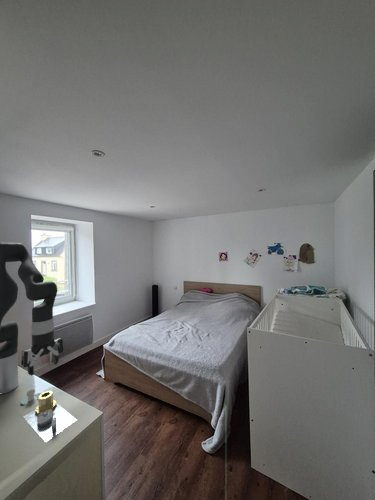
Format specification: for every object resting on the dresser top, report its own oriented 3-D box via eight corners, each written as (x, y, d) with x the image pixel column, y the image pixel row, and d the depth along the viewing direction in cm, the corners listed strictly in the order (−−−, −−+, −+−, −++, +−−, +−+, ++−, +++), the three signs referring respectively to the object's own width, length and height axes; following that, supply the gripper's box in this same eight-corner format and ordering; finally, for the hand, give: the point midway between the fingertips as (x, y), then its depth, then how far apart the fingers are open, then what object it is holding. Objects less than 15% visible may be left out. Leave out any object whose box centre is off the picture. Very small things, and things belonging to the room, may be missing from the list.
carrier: (22, 419, 82) (22, 407, 82) (52, 402, 91) (52, 390, 91) (45, 445, 70) (45, 431, 70) (77, 422, 80) (76, 409, 80)
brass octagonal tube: (33, 411, 85) (32, 396, 85) (51, 400, 91) (51, 387, 91) (40, 418, 81) (39, 403, 81) (58, 406, 87) (58, 392, 87)
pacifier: (20, 402, 92) (20, 409, 88) (20, 388, 92) (20, 395, 88) (40, 394, 97) (41, 401, 92) (40, 381, 97) (41, 387, 92)
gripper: (57, 323, 91) (58, 358, 91) (18, 334, 79) (19, 375, 79) (65, 326, 87) (66, 363, 87) (25, 338, 75) (26, 381, 75)
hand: (43, 369), depth 83 cm, fingers open, 8 cm apart
